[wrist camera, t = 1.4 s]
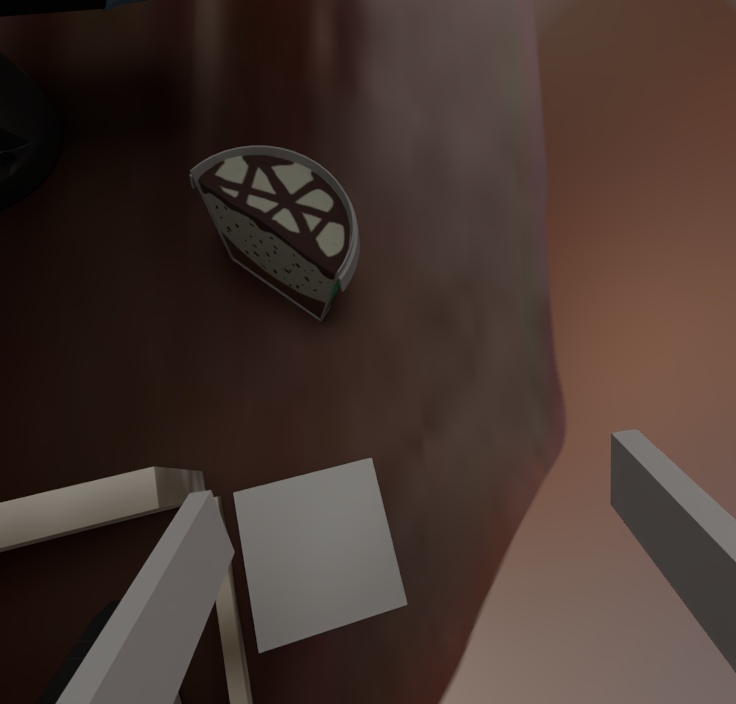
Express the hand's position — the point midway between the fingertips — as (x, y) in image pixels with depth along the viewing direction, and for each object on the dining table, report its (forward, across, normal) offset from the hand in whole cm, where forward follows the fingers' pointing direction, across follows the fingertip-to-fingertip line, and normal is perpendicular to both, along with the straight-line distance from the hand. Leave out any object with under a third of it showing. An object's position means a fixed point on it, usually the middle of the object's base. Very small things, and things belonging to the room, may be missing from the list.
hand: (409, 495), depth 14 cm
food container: (+25, -7, +5) cm, 27 cm away
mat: (+12, -8, -13) cm, 19 cm away
